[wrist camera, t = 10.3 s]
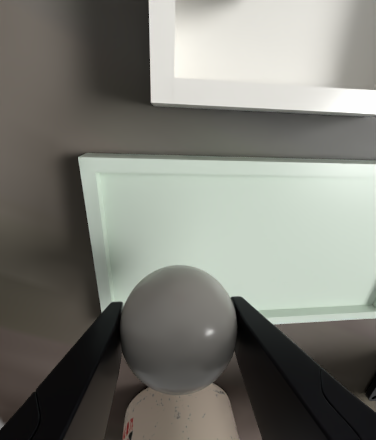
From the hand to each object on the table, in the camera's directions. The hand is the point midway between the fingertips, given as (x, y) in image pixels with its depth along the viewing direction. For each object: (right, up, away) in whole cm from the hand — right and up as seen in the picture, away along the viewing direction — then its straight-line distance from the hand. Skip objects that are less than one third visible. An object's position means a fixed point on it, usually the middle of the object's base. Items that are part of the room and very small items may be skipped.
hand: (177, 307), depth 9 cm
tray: (+5, +2, +5) cm, 7 cm away
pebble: (0, 0, +1) cm, 1 cm away
